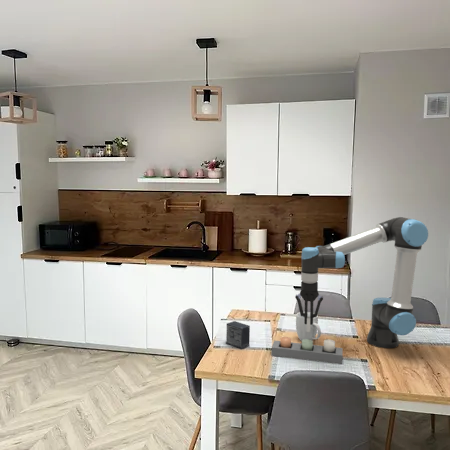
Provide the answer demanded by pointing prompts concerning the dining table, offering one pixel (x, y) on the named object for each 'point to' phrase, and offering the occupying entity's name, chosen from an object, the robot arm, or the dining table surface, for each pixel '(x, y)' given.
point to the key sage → (307, 344)
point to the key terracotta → (285, 342)
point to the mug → (302, 328)
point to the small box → (238, 334)
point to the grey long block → (307, 353)
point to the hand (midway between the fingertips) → (308, 330)
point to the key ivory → (329, 345)
